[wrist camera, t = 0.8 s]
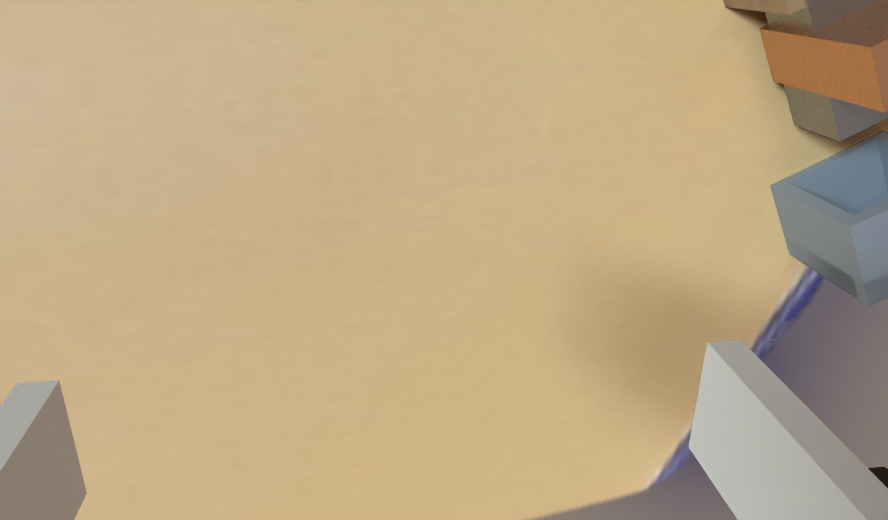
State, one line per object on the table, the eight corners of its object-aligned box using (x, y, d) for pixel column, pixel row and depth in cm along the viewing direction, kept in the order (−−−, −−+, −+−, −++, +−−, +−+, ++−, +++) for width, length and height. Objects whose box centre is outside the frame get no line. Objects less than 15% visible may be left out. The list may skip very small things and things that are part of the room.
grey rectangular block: (770, 185, 43) (849, 227, 36) (883, 131, 42) (985, 163, 36) (790, 254, 45) (868, 306, 38) (898, 203, 44) (997, 246, 38)
